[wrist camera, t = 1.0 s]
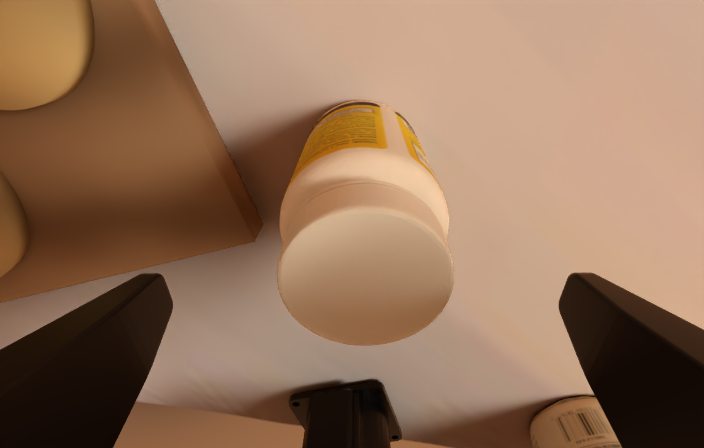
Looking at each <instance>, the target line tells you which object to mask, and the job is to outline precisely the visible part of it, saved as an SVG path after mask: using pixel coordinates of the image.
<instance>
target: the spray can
mask: <svg viewBox="0 0 704 448" xmlns="http://www.w3.org/2000/svg"><path fill="white" fill-rule="evenodd" d="M530 436H531V441H532V444H533V447H534V448H622V447H621V445H620V443H619V441H618V439H617V437H616V435H615V433H614V431H613V429H612V427H611V425H610V423H609V422H608V420H607V418H606V416H605V414H604V412H603V410H602V408H601V406H600V404H599V402H598V400H597V398H596V397H588V396H583V397H577V398H568V399H563V400H560V401H558V402H557V403H555V404H553V405H551V406H549V407H547V408H545V409H544V410H542V411H541V412H540V413H539V414H537V415H536V416H535V417H534V418H533V420H532V423H531V425H530Z"/></svg>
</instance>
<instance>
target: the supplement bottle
mask: <svg viewBox="0 0 704 448" xmlns="http://www.w3.org/2000/svg"><path fill="white" fill-rule="evenodd" d="M448 228H449V215H448V209H447V204H446V200H445V197H444V195H443V192H442V189H441V187H440V185H439V183H438V181H437V179H436V177H435V175H434V173H433V171H432V169H431V166H430V164H429V162H428V160H427V158H426V156H425V154H424V151H423V149H422V147H421V145H420V143H419V141H418V139H417V137H416V135H415V133H414V131H413V129H412V127H411V126H410V124H409V123H408V122H407V120H406V119H405V118H404V117H403V116H402V115H401V114H400V113H398V112H397V111H396V110H394V109H393V108H391V107H389V106H387V105H384V104H382V103H379V102H374V101H367V100H355V101H349V102H345V103H342V104H340V105H338V106H335V107H334V108H332V109H330V110H329V111H328V112H326V113H325V114H324V115H323V116H322V117H321V118H320V119H319V120H318V121H317V123H316V124H315V125H314V127H313V129H312V131H311V132H310V134H309V137H308V139H307V141H306V144H305V146H304V149H303V151H302V154H301V156H300V159H299V161H298V164H297V166H296V168H295V171H294V173H293V176H292V178H291V181H290V183H289V186H288V188H287V190H286V193H285V196H284V198H283V201H282V205H281V211H280V234H281V238H282V242H283V247H282V250H281V254H280V258H279V262H278V269H277V283H278V289H279V292H280V295H281V298H282V300H283V302H284V304H285V306H286V308H287V309H288V311H289V312H290V313H291V315H292V316H293V317H294V318H295V319H296V320H297V321H298V322H299V323H300V324H302V325H303V326H304V327H306V328H307V329H309V330H310V331H312V332H313V333H315V334H317V335H319V336H322V337H324V338H326V339H329V340H332V341H335V342H339V343H344V344H351V345H379V344H386V343H390V342H394V341H398V340H401V339H403V338H406V337H409V336H411V335H413V334H415V333H417V332H418V331H420V330H422V329H423V328H425V327H426V326H427V325H429V324H430V323H431V322H432V321H433V320H434V319H436V317H437V316H438V315H439V314H440V313H441V311H442V310H443V308H444V307H445V305H446V304H447V302H448V300H449V297H450V295H451V292H452V289H453V284H454V265H453V259H452V256H451V253H450V250H449V247H448V244H447V236H448Z"/></svg>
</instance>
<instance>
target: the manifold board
mask: <svg viewBox="0 0 704 448" xmlns="http://www.w3.org/2000/svg"><path fill="white" fill-rule="evenodd" d="M262 226H263V223H262V221H261V219H260V217H259V215H258V212H257V210H256V208H255V206H254V204H253V202H252V200H251V198H250V196H249V194H248V192H247V190H246V188H245V186H244V184H243V182H242V180H241V178H240V175H239V173H238V171H237V169H236V167H235V165H234V163H233V161H232V159H231V157H230V155H229V153H228V151H227V149H226V147H225V145H224V143H223V141H222V138H221V136H220V134H219V132H218V130H217V128H216V126H215V124H214V122H213V120H212V118H211V116H210V114H209V112H208V110H207V108H206V106H205V103H204V101H203V99H202V97H201V95H200V93H199V91H198V89H197V87H196V85H195V83H194V81H193V79H192V77H191V75H190V73H189V71H188V69H187V66H186V64H185V62H184V60H183V58H182V56H181V54H180V52H179V50H178V48H177V46H176V44H175V42H174V40H173V38H172V36H171V34H170V32H169V29H168V27H167V25H166V23H165V21H164V19H163V17H162V15H161V13H160V11H159V9H158V7H157V5H156V3H155V1H154V0H0V303H1V302H5V301H9V300H14V299H18V298H22V297H26V296H30V295H34V294H39V293H43V292H47V291H51V290H55V289H59V288H63V287H68V286H72V285H76V284H80V283H84V282H88V281H93V280H97V279H101V278H105V277H109V276H113V275H117V274H122V273H126V272H130V271H134V270H138V269H142V268H147V267H151V266H155V265H159V264H163V263H167V262H171V261H176V260H180V259H184V258H188V257H192V256H196V255H201V254H205V253H209V252H213V251H217V250H221V249H225V248H230V247H234V246H238V245H242V244H246V243H250V242H255V240H256V238H257V236H258V234H259V232H260V230H261V228H262Z"/></svg>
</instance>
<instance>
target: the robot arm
mask: <svg viewBox="0 0 704 448" xmlns="http://www.w3.org/2000/svg"><path fill="white" fill-rule="evenodd" d="M172 309H173V301H172V298H171V295H170V293H169V290H168V287H167V285H166V282H165V279H164V277H163V276H162V275H160V274H140V275H138V276H136V277H134V278H132V279H130V280H129V281H127V282H125V283H123V284H121V285H119V286H117V287H116V288H114V289H112V290H110V291H108V292H106V293H105V294H103V295H101V296H99V297H97V298H95V299H93V300H92V301H90V302H88V303H86V304H84V305H82V306H80V307H79V308H77V309H75V310H73V311H71V312H69V313H68V314H66V315H64V316H62V317H60V318H58V319H56V320H55V321H53V322H51V323H49V324H47V325H45V326H43V327H42V328H40V329H38V330H36V331H34V332H32V333H31V334H29V335H27V336H25V337H23V338H21V339H19V340H18V341H16V342H14V343H12V344H10V345H8V346H6V347H5V348H3V349H1V350H0V448H113V446H114V444H115V442H116V440H117V438H118V436H119V434H120V432H121V430H122V428H123V426H124V424H125V422H126V420H127V418H128V416H129V414H130V412H131V409H132V408H133V406H134V404H135V401H136V399H137V397H138V395H139V393H140V391H141V389H142V387H143V385H144V383H145V381H146V379H147V376H148V374H149V372H150V369H151V367H152V365H153V362H154V359H155V356H156V354H157V351H158V348H159V346H160V343H161V340H162V338H163V335H164V332H165V329H166V327H167V324H168V321H169V319H170V316H171V313H172ZM559 311H560V314H561V317H562V319H563V322H564V324H565V327H566V329H567V332H568V334H569V337H570V339H571V342H572V344H573V347H574V350H575V352H576V355H577V357H578V360H579V362H580V365H581V367H582V369H583V372H584V374H585V376H586V379H587V381H588V383H589V385H590V387H591V389H592V391H593V393H594V395H595V396H596V398H597V400H598V402H599V404H600V406H601V408H602V410H603V412H604V414H605V416H606V418H607V420H608V422H609V423H610V425H611V427H612V429H613V431H614V433H615V435H616V437H617V439H618V441H619V443H620V445H621V447H622V448H704V330H703V329H701V328H699V327H697V326H695V325H693V324H691V323H690V322H688V321H686V320H684V319H682V318H680V317H678V316H676V315H674V314H672V313H670V312H668V311H666V310H664V309H662V308H660V307H658V306H656V305H654V304H652V303H651V302H649V301H647V300H645V299H643V298H641V297H639V296H637V295H635V294H633V293H631V292H629V291H627V290H625V289H623V288H621V287H619V286H617V285H615V284H613V283H611V282H610V281H608V280H606V279H604V278H602V277H600V276H598V275H596V274H594V273H572V274H570V275H569V276H568V278H567V281H566V284H565V286H564V289H563V292H562V294H561V297H560V300H559ZM289 406H290V407H291V409H292V411H293V412H294V414H295V415H296V417H297V418H298V420H299V422H300V423H301V425H302V426H303V428H304V429H305V432H304V439H303V447H302V448H390V442H392V441H398V440H401V438H402V433H401V429H400V426H399V424H398V421H397V418H396V416H395V413H394V411H393V408H392V406H391V403H390V400H389V398H388V395H387V393H386V390H385V388H384V385H383V384H382V383H381V382H377V381H376V382H368V383H362V384H356V385H350V386H343V387H337V388H331V389H325V390H318V391H312V392H306V393H300V394H294V395H292V396H290V399H289Z"/></svg>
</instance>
